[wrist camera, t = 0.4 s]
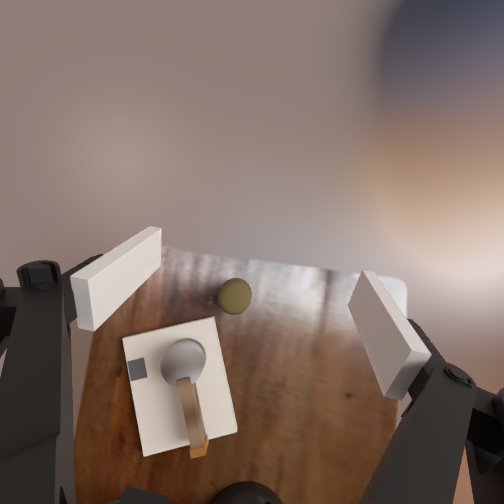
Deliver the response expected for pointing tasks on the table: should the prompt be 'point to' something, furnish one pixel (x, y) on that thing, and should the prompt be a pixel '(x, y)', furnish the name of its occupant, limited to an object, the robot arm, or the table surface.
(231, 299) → the olive pawn
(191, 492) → the table surface
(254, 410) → the table surface
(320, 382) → the table surface
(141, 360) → the base plate
